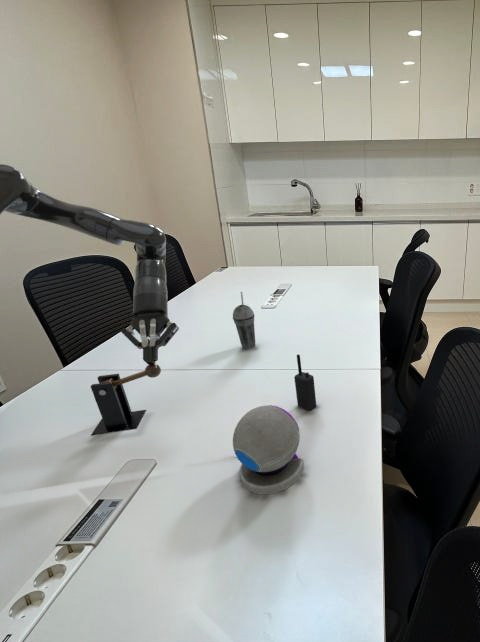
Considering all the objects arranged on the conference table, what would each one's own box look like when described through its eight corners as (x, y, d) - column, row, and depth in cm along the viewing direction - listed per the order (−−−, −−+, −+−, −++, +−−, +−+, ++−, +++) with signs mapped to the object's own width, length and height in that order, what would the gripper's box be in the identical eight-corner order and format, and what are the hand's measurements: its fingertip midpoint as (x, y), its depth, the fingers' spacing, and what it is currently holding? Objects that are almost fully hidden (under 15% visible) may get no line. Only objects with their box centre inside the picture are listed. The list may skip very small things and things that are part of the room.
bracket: (147, 413, 102) (133, 369, 96) (138, 432, 94) (122, 385, 89) (105, 419, 100) (88, 374, 94) (92, 438, 92) (73, 391, 87)
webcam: (315, 462, 83) (309, 404, 77) (273, 504, 73) (262, 441, 67) (270, 443, 89) (261, 387, 83) (226, 479, 79) (212, 419, 73)
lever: (165, 370, 96) (158, 359, 94) (161, 377, 93) (154, 365, 91) (108, 390, 94) (100, 379, 93) (102, 397, 91) (94, 386, 90)
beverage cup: (234, 350, 135) (223, 295, 127) (245, 341, 142) (235, 289, 133) (252, 352, 134) (243, 296, 125) (263, 343, 140) (254, 290, 132)
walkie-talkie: (317, 405, 103) (312, 355, 97) (308, 412, 100) (303, 361, 94) (304, 400, 105) (298, 351, 99) (295, 406, 103) (289, 356, 97)
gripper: (183, 302, 103) (184, 364, 97) (128, 307, 100) (126, 371, 94) (173, 289, 96) (175, 354, 90) (115, 294, 93) (112, 362, 87)
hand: (150, 363), depth 92 cm, fingers closed
